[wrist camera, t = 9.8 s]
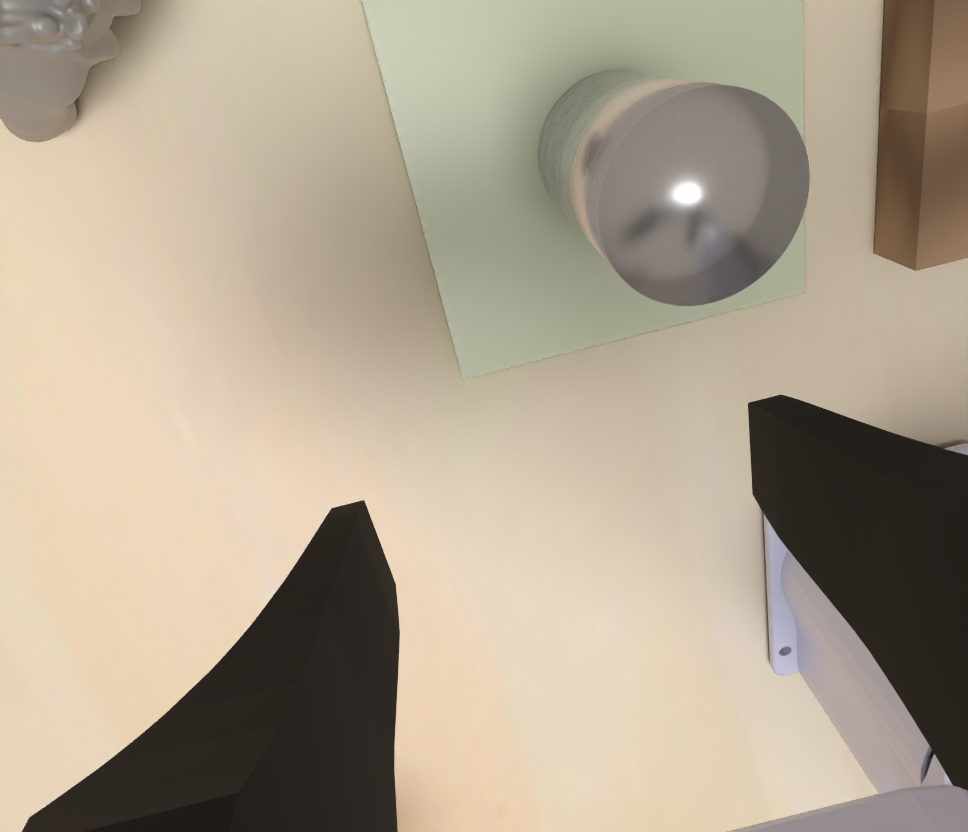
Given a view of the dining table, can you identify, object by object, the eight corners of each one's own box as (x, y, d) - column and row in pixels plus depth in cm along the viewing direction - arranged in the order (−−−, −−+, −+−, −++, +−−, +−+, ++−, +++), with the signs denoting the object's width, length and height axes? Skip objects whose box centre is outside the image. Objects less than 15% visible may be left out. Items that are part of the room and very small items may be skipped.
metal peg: (688, 203, 20) (811, 275, 14) (553, 241, 20) (616, 328, 14) (672, 51, 18) (806, 57, 12) (523, 94, 18) (580, 121, 12)
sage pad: (796, 288, 22) (805, 292, 22) (461, 373, 22) (462, 379, 22) (791, -136, 17) (802, -141, 17) (356, -23, 17) (354, -26, 17)
